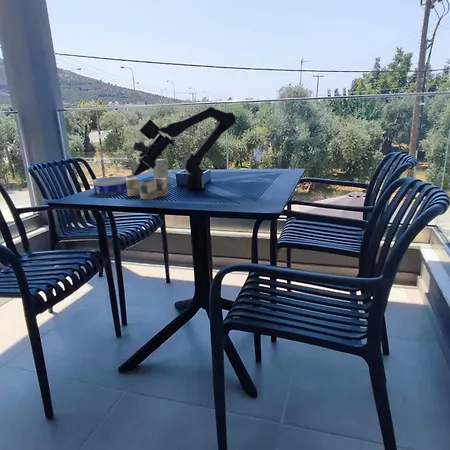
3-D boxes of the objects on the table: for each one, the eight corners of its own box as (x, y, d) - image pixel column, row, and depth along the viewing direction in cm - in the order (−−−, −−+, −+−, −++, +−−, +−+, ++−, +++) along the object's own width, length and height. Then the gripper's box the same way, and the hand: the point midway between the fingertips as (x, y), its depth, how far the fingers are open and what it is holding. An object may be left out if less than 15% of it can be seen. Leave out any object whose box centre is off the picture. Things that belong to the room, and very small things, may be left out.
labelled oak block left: (168, 193, 155) (166, 177, 153) (165, 196, 150) (163, 179, 148) (156, 194, 155) (155, 177, 153) (153, 196, 150) (151, 179, 148)
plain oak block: (139, 193, 159) (137, 177, 157) (139, 195, 155) (137, 179, 153) (127, 194, 158) (125, 178, 156) (127, 196, 153) (125, 180, 151)
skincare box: (160, 185, 174) (157, 160, 171) (154, 184, 177) (151, 160, 173) (169, 183, 179) (167, 158, 175) (163, 182, 182) (161, 158, 178)
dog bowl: (87, 194, 161) (85, 181, 160) (108, 188, 175) (107, 175, 173) (115, 195, 156) (113, 182, 154) (135, 188, 170) (133, 176, 168)
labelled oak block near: (157, 196, 150) (156, 179, 148) (150, 199, 145) (148, 182, 143) (148, 196, 152) (146, 179, 150) (140, 198, 147) (138, 181, 145)
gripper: (141, 133, 159) (119, 160, 160) (144, 135, 142) (119, 165, 142) (160, 150, 163) (138, 176, 164) (166, 154, 146) (141, 183, 147)
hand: (134, 174), depth 154 cm, fingers closed
